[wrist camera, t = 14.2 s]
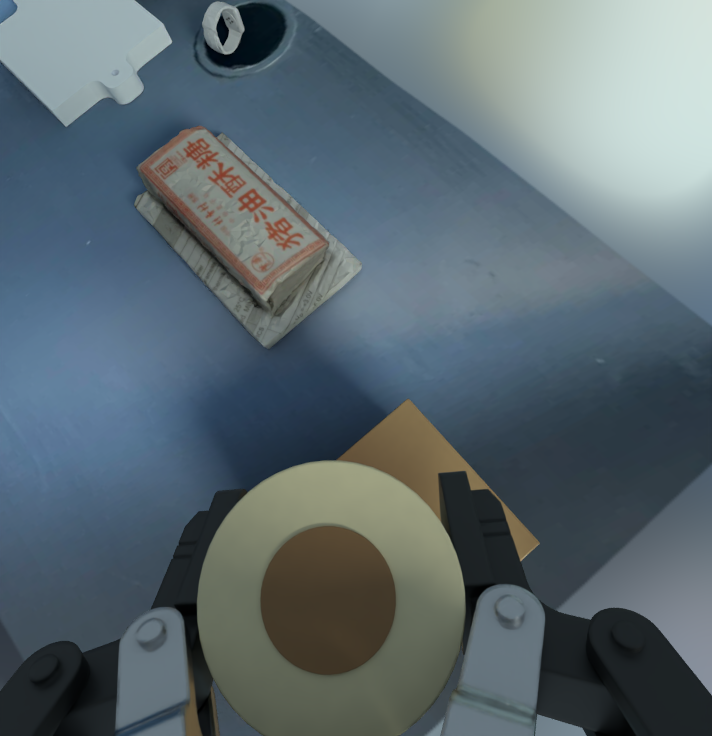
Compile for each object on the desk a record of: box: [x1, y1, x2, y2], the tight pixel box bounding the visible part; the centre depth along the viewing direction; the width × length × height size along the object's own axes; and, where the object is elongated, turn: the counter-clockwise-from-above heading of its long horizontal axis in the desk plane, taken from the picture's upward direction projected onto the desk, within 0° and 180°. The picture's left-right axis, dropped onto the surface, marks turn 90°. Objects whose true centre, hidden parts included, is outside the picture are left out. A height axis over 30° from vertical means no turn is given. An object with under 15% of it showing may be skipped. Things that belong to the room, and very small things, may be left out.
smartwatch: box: [202, 2, 244, 54], centre depth 46 cm, size 4×2×4 cm, turn 147°
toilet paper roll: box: [197, 460, 466, 736], centre depth 14 cm, size 5×5×8 cm
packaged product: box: [134, 126, 362, 349], centre depth 40 cm, size 18×5×10 cm
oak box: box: [335, 399, 539, 561], centre depth 30 cm, size 12×9×10 cm
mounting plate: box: [0, 0, 172, 127], centre depth 49 cm, size 18×13×2 cm
